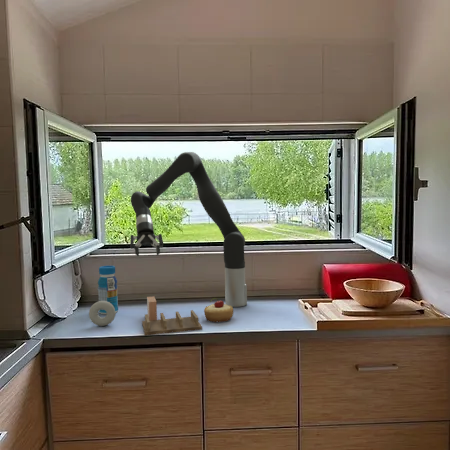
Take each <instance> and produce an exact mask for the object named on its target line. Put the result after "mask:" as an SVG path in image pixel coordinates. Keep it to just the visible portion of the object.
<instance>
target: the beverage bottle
mask: <svg viewBox="0 0 450 450" xmlns="http://www.w3.org/2000/svg"><path fill="white" fill-rule="evenodd" d="M98 272H99V278H98V280H97V284H98V286H97V292H98V294H97V295H98V301H107V302H110V303H111V304H112V305H113V306H114V308H115V312H116V313H118V311H119V304H118V303H119V302H118V300H119V299H118V297H119V296H118V289H119V286H118V279H117V277H116V276H115V274H116V266H115V265H101V266H99V268H98ZM98 314H100V315H107V312H106V311H105V310H103V309H101V310H99V311H98Z"/></svg>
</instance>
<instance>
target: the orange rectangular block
mask: <svg viewBox="0 0 450 450" xmlns="http://www.w3.org/2000/svg"><path fill="white" fill-rule="evenodd" d="M146 305H147V306H146V307H147V308H146V309H147V314H148V318H149V320H158V310H157V308H158V307H157V300H156V298H155V296H147V297H146Z"/></svg>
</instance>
